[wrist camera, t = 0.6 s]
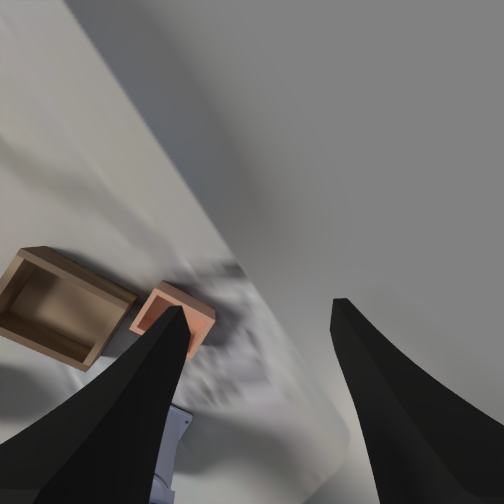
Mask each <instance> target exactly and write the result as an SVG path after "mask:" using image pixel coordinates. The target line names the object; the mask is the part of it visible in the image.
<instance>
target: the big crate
mask: <svg viewBox="0 0 504 504" xmlns="http://www.w3.org/2000/svg"><path fill="white" fill-rule="evenodd" d="M137 298H138V295H136V294H134V293H132V292H130V291H129V290H127V289H125V288H123V287H121V286H119V285H117V284H115V283H113V282H112V281H110V280H108V279H106V278H104V277H102V276H100V275H98V274H96V273H94V272H93V271H91V270H89V269H87V268H85V267H83V266H81V265H79V264H77V263H76V262H74V261H72V260H70V259H68V258H66V257H64V256H62V255H60V254H59V253H57V252H55V251H53V250H51V249H49V248H47V247H45V246H39V247H28V248H20V250H19V251H18V253H17V254H16V256H15V257H14V259H13V260H12V262H11V264H10V265H9V267H8V268H7V270H6V271H5V273H4V274H3V276H2V277H1V279H0V335H1V336H3V337H5V338H8V339H10V340H12V341H14V342H17V343H19V344H21V345H24V346H26V347H28V348H31V349H33V350H35V351H37V352H40V353H42V354H44V355H47V356H49V357H51V358H54V359H56V360H58V361H60V362H63V363H65V364H67V365H70V366H72V367H74V368H76V369H79V370H81V371H83V372H87V371H88V369H89V368H90V367H91V366H92V365H93V364H94V363H95V361H96V360H97V359H98V358H99V357H100V356H101V354H102V352H103V351H104V349H105V348H106V346H107V345H108V343H109V341H110V340H111V338H112V337H113V335H114V334H115V332H116V330H117V329H118V327H119V326H120V324H121V323H122V321H123V320H124V318H125V316H126V315H127V313H128V312H129V310H130V309H131V307H132V305H133V304H134V302H135V301H136V299H137Z"/></svg>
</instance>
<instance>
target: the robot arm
mask: <svg viewBox="0 0 504 504" xmlns="http://www.w3.org/2000/svg"><path fill="white" fill-rule="evenodd" d="M330 333H331V337H332V342H333V345H334V350H335V353H336V355H337V358H338V361H339V364H340V367H341V369H342V372H343V375H344V378H345V380H346V383H347V386H348V388H349V391H350V394H351V396H352V399H353V402H354V405H355V408H356V411H357V415H358V418H359V422H360V426H361V429H362V433H363V437H364V440H365V444H366V448H367V452H368V456H369V460H370V464H371V468H372V472H373V476H374V480H375V484H376V488H377V492H378V496H379V501H380V504H504V426H503V425H502V424H500V423H499V422H497V421H496V420H494V419H492V418H491V417H489V416H488V415H486V414H484V413H483V412H482V411H480V410H478V409H477V408H475V407H474V406H473V405H471V404H470V403H468V402H467V401H465V400H464V399H462V398H461V397H459V396H458V395H457V394H455V393H454V392H452V391H451V390H449V389H448V388H446V387H445V386H444V385H442V384H441V383H440V382H438V381H437V380H436V379H434V378H433V377H432V376H430V375H429V374H428V373H426V372H425V371H424V370H422V369H421V368H420V367H419V366H418V365H416V364H415V363H414V362H413V361H411V360H410V359H409V358H408V357H407V356H405V355H404V354H403V353H402V352H401V351H400V350H399V349H398V348H396V347H395V346H394V345H393V344H392V343H391V342H390V341H389V340H388V339H387V338H386V337H385V336H383V335H382V334H381V333H380V332H379V331H378V330H377V329H376V328H375V327H374V326H373V325H372V324H371V323H370V322H369V321H368V320H367V319H366V318H365V317H364V316H363V315H362V314H361V312H360V311H359V310H358V309H357V308H356V307H355V306H354V305H353V304H352V303H351V302H350V301H349V300H348V299H347V298H341V299H333V306H332V315H331V323H330ZM190 338H191V332H190V329H189V326H188V323H187V320H186V317H185V313H184V310H183V307H182V305H177V306H169V307H168V308H167V309H166V310H165V311H164V312H163V313H162V314H161V316H160V317H159V318H158V319H157V320H156V321H155V322H154V323H153V324H152V325H151V326H150V327H149V328H148V329H147V330H146V331H145V332H144V333H143V334H142V336H141V337H140V338H139V339H138V340H137V341H136V342H135V343H134V344H133V345H131V346H130V347H129V348H128V349H127V350H126V351H125V352H124V353H123V354H122V355H121V356H120V357H119V358H118V359H117V360H116V361H115V362H114V363H112V364H111V365H110V366H109V367H108V368H107V369H106V370H104V371H103V372H102V373H101V374H100V375H98V376H97V377H96V378H95V379H94V380H92V381H91V382H90V383H89V384H87V385H86V386H85V387H83V388H82V389H81V390H79V391H78V392H77V393H76V394H74V395H73V396H72V397H70V398H69V399H68V400H66V401H65V402H64V403H62V404H61V405H60V406H58V407H57V408H55V409H54V410H52V411H51V412H50V413H48V414H47V415H45V416H44V417H42V418H41V419H39V420H38V421H36V422H35V423H33V424H32V425H30V426H29V427H27V428H26V429H24V430H23V431H21V432H20V433H18V434H17V435H15V436H13V437H12V438H10V439H8V440H7V441H5V442H4V443H2V444H0V504H174V497H175V491H172V490H171V483H172V477H173V470H174V464H175V457H176V451H177V444H178V442H179V440H180V439H181V437H182V436H183V434H184V432H185V431H186V429H187V428H188V426H189V424H190V423H191V421H192V419H193V416H192V415H191V414H189V413H187V412H185V411H182V410H180V409H178V408H176V407H173V406H171V402H172V399H173V396H174V393H175V390H176V387H177V384H178V381H179V378H180V375H181V372H182V369H183V366H184V363H185V360H186V357H187V353H188V348H189V343H190ZM186 421H188V422H186Z"/></svg>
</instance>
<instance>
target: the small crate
mask: <svg viewBox="0 0 504 504" xmlns="http://www.w3.org/2000/svg"><path fill="white" fill-rule="evenodd" d="M177 305H182V307H183V310H184V313H185V317H186V320H187V323H188V326H189V329H190V332H191V338H190V343H189V348H188V353H187V357H186V358H188V359H190V360H191V359H192V357H193V356H194V354H195V353H196V351H197V349H198V348H199V346H200V345H201V343H202V342H203V340H204V338H205V337H206V335H207V334H208V332H209V330H210V329H211V327H212V326H213V324H214V322H215V321H216V319H215V309H213V308H211V307H209V306H207V305H206V304H204V303H202V302H200V301H198V300H197V299H195V298H193V297H191V296H189V295H188V294H186V293H184V292H182V291H180V290H179V289H177V288H175V287H173V286H171V285H170V284H168V283H166V282H164V281H161V282H160V283H159V284H158V285H157V286H156V287H155V289H154V290H153V292H152V293H151V295H150V297H149V298H148V300H147V301H146V303H145V304H144V306H143V308H142V309H141V311H140V312H139V314H138V315H137V317H136V319H135V320H134V322H133V323H132V325H131V326H130V328H129V330H132V331H134V332H136V333H138V334H140V335H142V334H143V333H144V332H145V331H146V330H147V329H148V328H149V327H150V326H151V325H152V324H153V323H154V322H155V321H156V320H157V319H158V318H159V317H160V316H161V314H162V313H163V312H164V311H165V310H166V309H167V308H168V307H169V306H177Z"/></svg>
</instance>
